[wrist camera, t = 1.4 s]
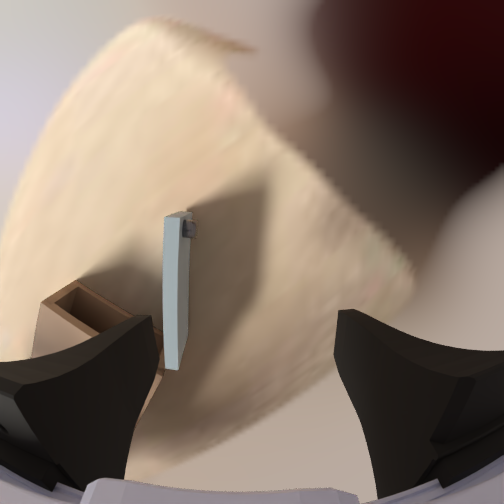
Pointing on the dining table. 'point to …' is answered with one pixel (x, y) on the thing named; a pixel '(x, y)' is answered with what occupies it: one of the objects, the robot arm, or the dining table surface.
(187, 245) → the door
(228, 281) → the dining table surface
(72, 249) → the dining table surface
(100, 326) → the cabinet
